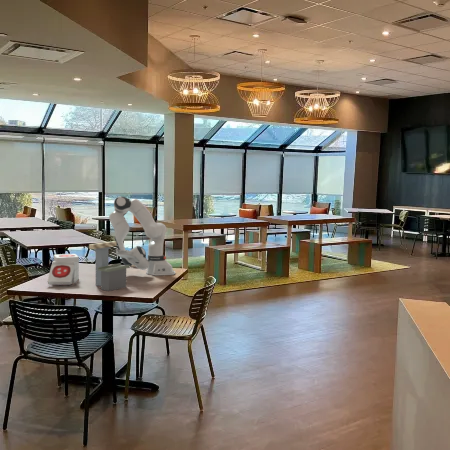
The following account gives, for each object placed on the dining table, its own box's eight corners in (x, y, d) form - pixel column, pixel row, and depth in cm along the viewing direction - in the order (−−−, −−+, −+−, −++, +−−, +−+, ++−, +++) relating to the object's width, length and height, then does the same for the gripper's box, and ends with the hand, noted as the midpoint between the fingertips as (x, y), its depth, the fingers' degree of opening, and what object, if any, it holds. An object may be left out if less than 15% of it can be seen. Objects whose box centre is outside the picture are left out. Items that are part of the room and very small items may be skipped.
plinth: (102, 283, 349) (102, 246, 346) (110, 284, 344) (110, 247, 342) (93, 285, 342) (93, 247, 340) (101, 286, 338) (101, 248, 335)
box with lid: (119, 284, 345) (119, 263, 344) (129, 286, 340) (129, 264, 339) (97, 289, 328) (97, 267, 327) (107, 291, 323) (107, 269, 322)
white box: (44, 287, 332) (44, 260, 331) (55, 278, 362) (55, 253, 360) (74, 287, 334) (73, 260, 332) (82, 278, 364) (82, 253, 362)
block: (113, 245, 352) (113, 241, 351) (116, 245, 350) (116, 241, 350) (89, 248, 333) (89, 244, 333) (92, 249, 332) (92, 244, 331)
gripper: (124, 252, 374) (112, 245, 363) (145, 255, 363) (133, 247, 352) (121, 260, 372) (109, 252, 361) (142, 263, 360) (130, 255, 350)
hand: (121, 250), depth 356 cm, fingers open, 8 cm apart
